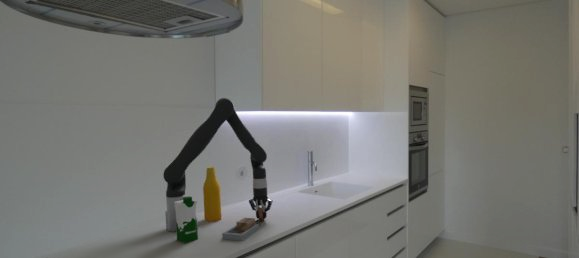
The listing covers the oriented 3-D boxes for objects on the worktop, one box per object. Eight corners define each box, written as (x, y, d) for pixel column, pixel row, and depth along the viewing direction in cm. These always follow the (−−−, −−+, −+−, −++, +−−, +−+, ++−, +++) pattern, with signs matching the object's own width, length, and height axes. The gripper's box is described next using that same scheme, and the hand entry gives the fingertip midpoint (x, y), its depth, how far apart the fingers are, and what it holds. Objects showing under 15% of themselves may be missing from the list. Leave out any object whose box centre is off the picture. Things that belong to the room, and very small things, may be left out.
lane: (222, 238, 165) (222, 233, 165) (240, 227, 181) (240, 222, 181) (242, 240, 161) (242, 235, 161) (258, 228, 177) (258, 223, 177)
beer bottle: (212, 216, 203) (210, 165, 202) (225, 218, 198) (222, 166, 197) (200, 221, 195) (198, 168, 194) (213, 222, 190) (211, 168, 189)
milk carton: (183, 244, 159) (181, 200, 159) (173, 239, 166) (171, 197, 165) (200, 239, 166) (198, 196, 165) (191, 235, 172) (188, 193, 171)
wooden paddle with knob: (236, 232, 173) (236, 218, 173) (257, 219, 194) (257, 206, 194) (247, 233, 171) (247, 219, 170) (267, 220, 192) (267, 207, 192)
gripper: (245, 187, 190) (246, 219, 191) (269, 188, 185) (270, 221, 185) (251, 184, 197) (252, 215, 197) (274, 185, 192) (276, 217, 192)
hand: (261, 218), depth 191 cm, fingers closed on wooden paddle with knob, 3 cm apart
